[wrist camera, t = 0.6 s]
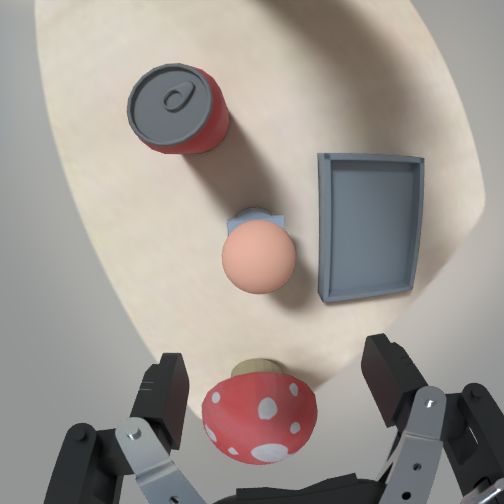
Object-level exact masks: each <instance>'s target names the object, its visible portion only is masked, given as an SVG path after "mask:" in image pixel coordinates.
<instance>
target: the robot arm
mask: <svg viewBox="0 0 504 504" xmlns="http://www.w3.org/2000/svg"><path fill="white" fill-rule="evenodd" d="M361 369H362V373H363V376H364V378H365V380H366V382H367V384H368V387H369V388H370V391H371V393H372V395H373V397H374V400H375V402H376V404H377V406H378V408H379V411H380V413H381V415H382V417H383V420H384V422H385V424H386V426H387V428H388V427H391V426H394V425H396V427H397V429H398V430H397V432H396V434H395V437H394V440H393V442H392V445H391V448H390V450H389V453H388V455H387V458H386V460H385V462H384V465H383V467H382V469H381V471H380V473H379V474H378V476H377V478H376V480H375V481H374V480H369V479H357V477H356V474H355V473H352V474H349V475H344V476H339V477H335V478H330V479H327V480H324V481H321V482H319V483H317V484H314V485H312V486H309V487H306V488H304V489H301V490H287V489H277V488H269V487H262V488H242V489H241V488H238V489H236V495H233V496H229V497H226V498H224V499H221V500H219V501H217V502H215V503H213V504H426V502H427V500H428V497H429V494H430V491H431V488H432V485H433V481H434V478H435V474H436V471H437V468H438V464H439V460H440V456H441V452H442V447H443V448H444V450H445V452H446V454H447V457H448V459H449V462H450V464H451V466H452V469H453V471H454V474H455V476H456V479H457V482H458V484H459V487H460V489H461V492H462V495H463V499H462V501H461V503H460V504H504V415H503V413H502V412H501V410H500V409H499V407H498V406H497V404H496V402H495V401H494V399H493V398H492V396H491V395H490V393H489V392H488V391H487V389H486V388H485V387H484V386H483V385H481V384H478V383H470V384H468V385H466V386H465V387H464V389H463V391H462V393H453V394H444V392H443V391H442V390H440V389H439V388H437V387H434V386H429V385H428V384H427V382H426V381H425V379H424V378H423V376H422V375H421V373H420V372H419V370H418V369H417V367H416V366H415V364H413V361H412V360H411V358H409V355H408V354H407V353H406V351H405V350H404V348H403V347H401V346H399V345H398V344H397V343H395V342H393V343H390V341H389V340H388V338H387V337H386V335H385V334H383V333H382V334H377V335H371V336H368V337H367V338H366V342H365V346H364V351H363V356H362V361H361ZM188 394H189V378H188V374H187V371H186V368H185V364H184V361H183V357H182V354H181V353H163V354H162V357H161V360H160V363H159V364H152V365H151V367H150V368H149V369H148V370H147V371H146V372H145V374H144V377H143V380H142V383H141V385H140V390H139V391H138V394H137V397H136V400H135V403H134V406H133V408H132V411H131V414H130V417H129V418H127V419H125V420H123V421H121V422H120V423H119V425H118V426H117V428H115V429H108V430H99V431H96V430H95V429H94V428H93V427H92V426H91V425H89V424H86V423H78V424H75V425H74V426H72V427H71V428H70V429H69V430H68V431H67V434H66V436H65V439H64V442H63V444H62V447H61V450H60V453H59V456H58V458H57V461H56V464H55V467H54V470H53V473H52V476H51V480H50V483H49V486H48V490H47V493H46V497H45V500H44V504H119V499H120V494H121V488H122V482H123V477H124V475H131V474H135V475H136V482H137V484H138V485H139V487H140V489H141V491H142V492H143V494H144V495H145V497H146V499H147V500H148V502H149V503H150V504H207V503H206V502H205V501H204V500H203V499H202V497H201V496H200V495H199V494H198V493H197V491H196V490H195V489H194V488H193V486H192V485H191V484H190V483H189V481H188V480H187V479H186V478H185V476H184V475H183V474H182V472H181V471H180V470H179V468H178V467H177V466H176V464H175V463H174V462H173V460H172V459H171V458H170V452H171V449H173V450H179V448H180V442H181V435H182V429H183V423H184V417H185V411H186V405H187V400H188ZM469 428H471V430H472V432H473V434H474V436H475V437H476V440H477V442H478V444H477V442H476V440H475V438H474V437H473V434H472V433H471V431H470V429H469Z"/></svg>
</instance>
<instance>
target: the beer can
mask: <svg viewBox="0 0 504 504" xmlns="http://www.w3.org/2000/svg"><path fill="white" fill-rule="evenodd" d="M127 116H128V120H129V124H130V126H131V128H132V129H133V131H134V133H135V134H136V135H137V136H138V137H139V139H140V140H141V141H142V142H143V143H145V144H146V145H147V146H148V147H150V148H151V149H153V150H155V151H158V152H161V153H164V154H199V153H203V152H207V151H210V150H211V149H213V148H214V147H216V146H218V145H219V143H220V142H221V141H222V140H223V139H224V138H225V136H226V133H227V131H228V129H229V121H230V117H229V113H228V109H227V106H226V103H225V100H224V97H223V95H222V92H221V89H220V88H219V86H218V84H217V83H216V81H215V80H214V79H213V77H211V76H210V75H208V74H207V73H206V72H204V71H203V70H201V69H198V68H195V67H192V66H188V65H184V64H181V63H174V64H165V65H162V66H159V67H156V68H153V69H152V70H150V71H149V72H148V73H146V74H145V75H143V76H142V77H141V78H140V79H139V81H138V82H137V83H136V84H135V86H134V87H133V89H132V91H131V94H130V96H129V98H128V105H127Z"/></svg>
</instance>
